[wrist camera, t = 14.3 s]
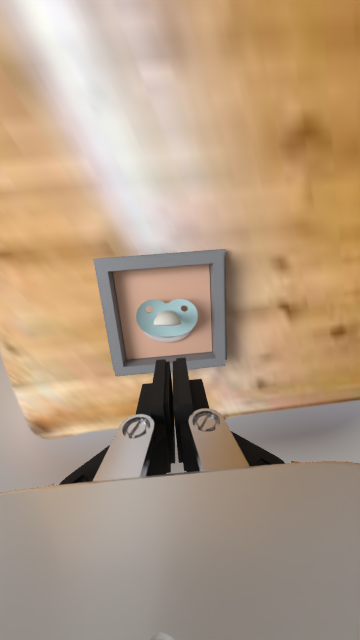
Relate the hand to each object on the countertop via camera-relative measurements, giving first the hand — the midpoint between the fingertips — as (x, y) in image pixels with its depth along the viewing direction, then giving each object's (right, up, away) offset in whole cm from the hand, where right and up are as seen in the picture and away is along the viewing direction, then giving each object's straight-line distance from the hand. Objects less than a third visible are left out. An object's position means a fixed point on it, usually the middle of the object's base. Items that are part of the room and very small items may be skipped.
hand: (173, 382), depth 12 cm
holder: (-2, +5, +17) cm, 17 cm away
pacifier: (-1, +4, +16) cm, 16 cm away
